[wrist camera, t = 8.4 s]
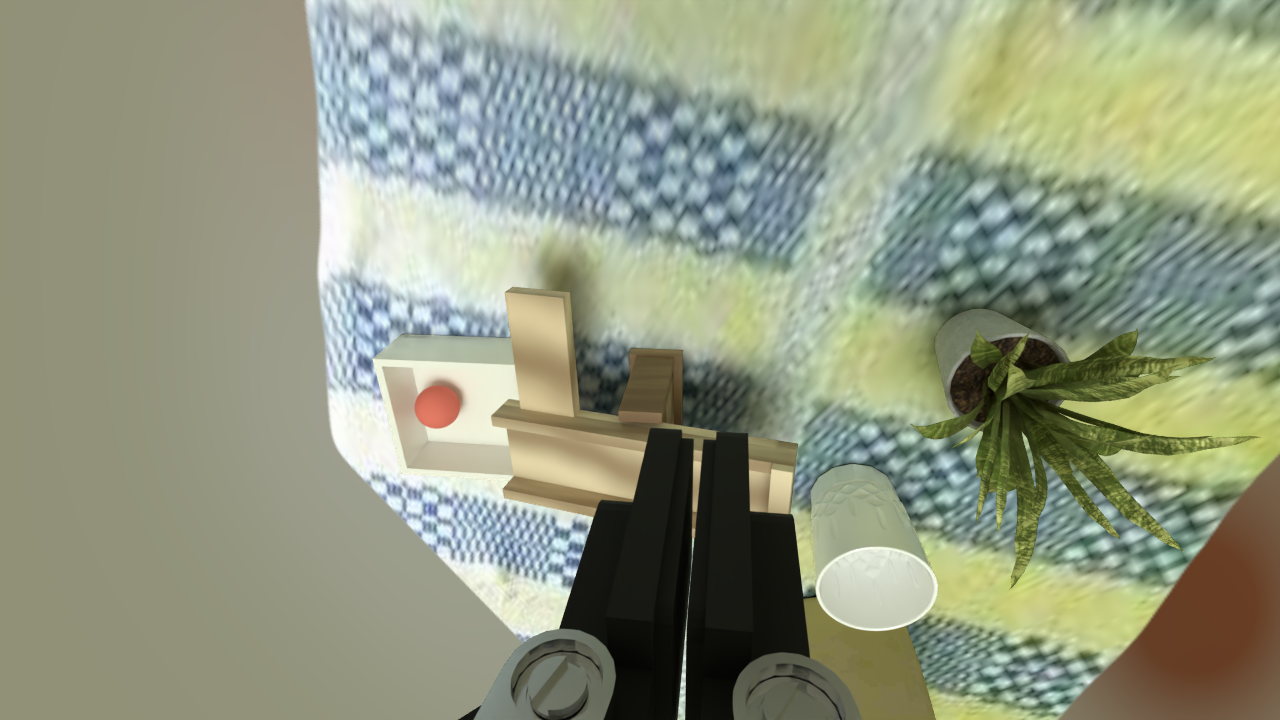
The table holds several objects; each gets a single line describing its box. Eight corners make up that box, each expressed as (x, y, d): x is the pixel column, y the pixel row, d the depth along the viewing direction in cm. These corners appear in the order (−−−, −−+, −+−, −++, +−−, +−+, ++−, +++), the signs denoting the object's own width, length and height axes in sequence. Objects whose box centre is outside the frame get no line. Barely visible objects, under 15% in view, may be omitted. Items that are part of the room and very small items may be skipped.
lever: (502, 278, 40) (466, 301, 37) (813, 306, 34) (807, 337, 31) (528, 468, 47) (500, 504, 44) (790, 519, 41) (782, 565, 38)
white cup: (815, 539, 53) (831, 638, 44) (791, 468, 50) (803, 558, 41) (910, 522, 50) (947, 623, 41) (891, 447, 47) (926, 537, 39)
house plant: (1052, 449, 45) (1197, 633, 31) (860, 435, 47) (914, 603, 33) (1119, 266, 39) (1342, 392, 25) (894, 258, 41) (979, 371, 26)
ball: (464, 387, 48) (442, 373, 50) (424, 404, 46) (402, 389, 48) (471, 424, 50) (449, 409, 52) (432, 442, 48) (411, 426, 50)
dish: (402, 334, 49) (372, 358, 45) (547, 339, 47) (530, 365, 43) (426, 442, 54) (401, 473, 50) (559, 451, 52) (544, 483, 48)
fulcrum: (631, 348, 47) (608, 409, 39) (682, 350, 46) (671, 412, 38) (634, 450, 51) (615, 524, 43) (682, 453, 50) (671, 528, 42)
